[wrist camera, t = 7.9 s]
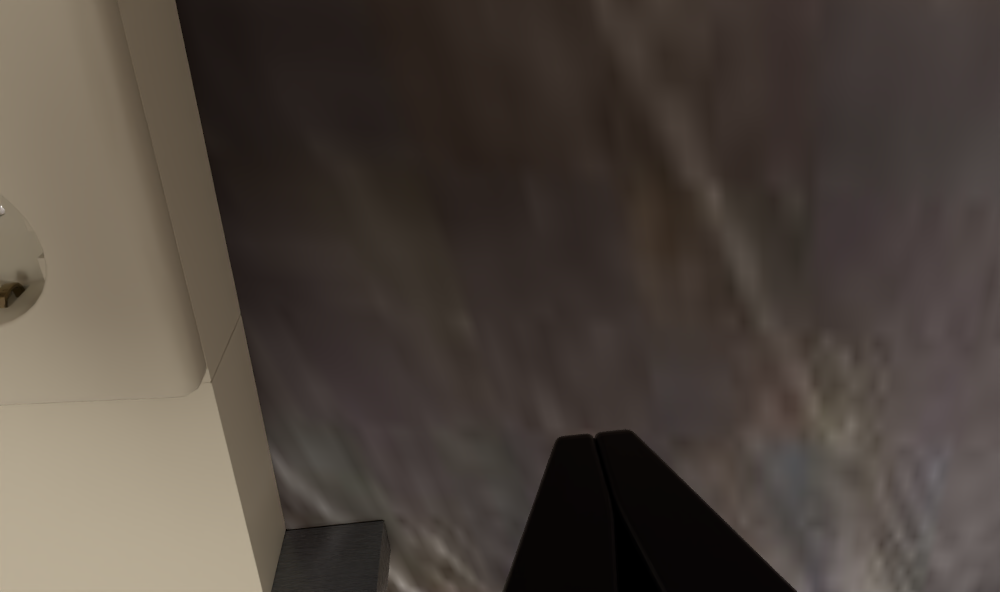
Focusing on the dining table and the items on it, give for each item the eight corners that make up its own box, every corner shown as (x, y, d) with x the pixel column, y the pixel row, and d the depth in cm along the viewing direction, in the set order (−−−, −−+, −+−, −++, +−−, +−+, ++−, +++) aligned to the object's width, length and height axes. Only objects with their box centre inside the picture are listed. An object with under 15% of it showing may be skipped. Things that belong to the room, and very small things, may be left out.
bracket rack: (390, 550, 23) (383, 623, 21) (26, 588, 23) (-18, 666, 21) (136, -532, 12) (65, -612, 10) (-584, -451, 12) (-815, -513, 10)
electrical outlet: (-41, 657, 19) (-545, -236, 10) (35, 530, 23) (-290, -220, 14) (259, 641, 20) (29, -244, 10) (288, 517, 23) (135, -226, 14)
